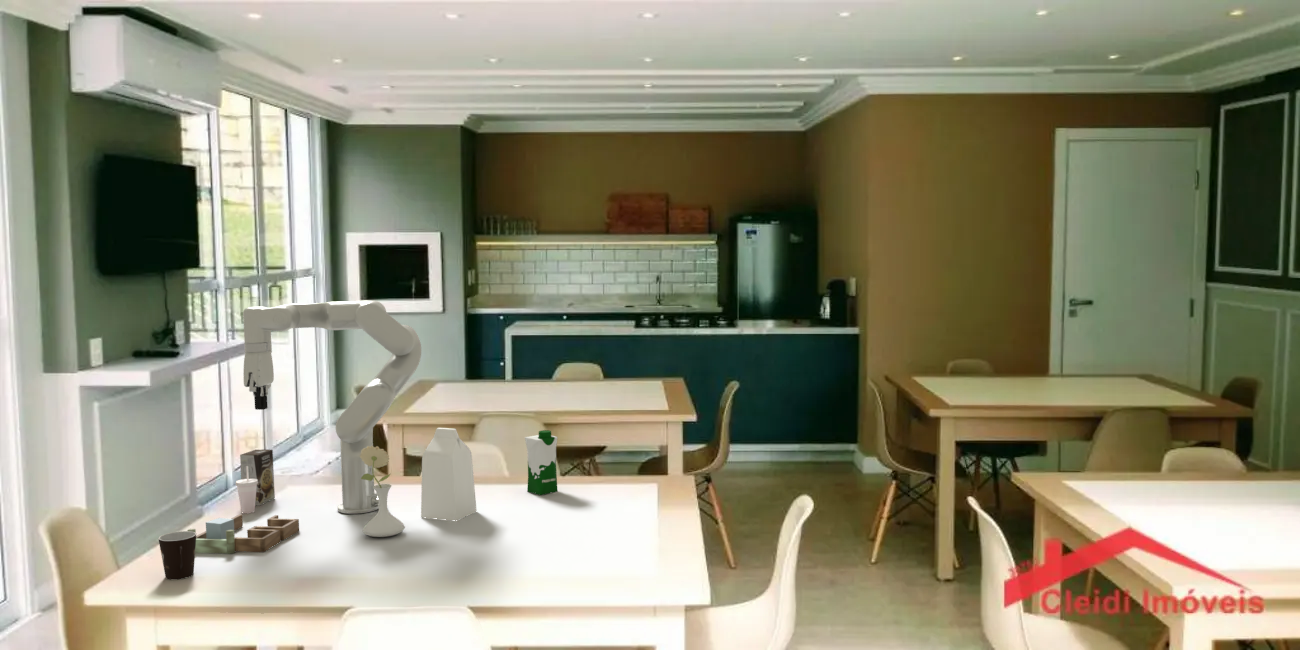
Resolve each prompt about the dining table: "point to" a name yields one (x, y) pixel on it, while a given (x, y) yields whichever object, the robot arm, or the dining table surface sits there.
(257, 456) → the coffee box
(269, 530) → the brown open tray piece
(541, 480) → the milk carton
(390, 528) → the flower in vase
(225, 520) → the block
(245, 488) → the smoothie
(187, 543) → the coffee mug
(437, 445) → the milk
